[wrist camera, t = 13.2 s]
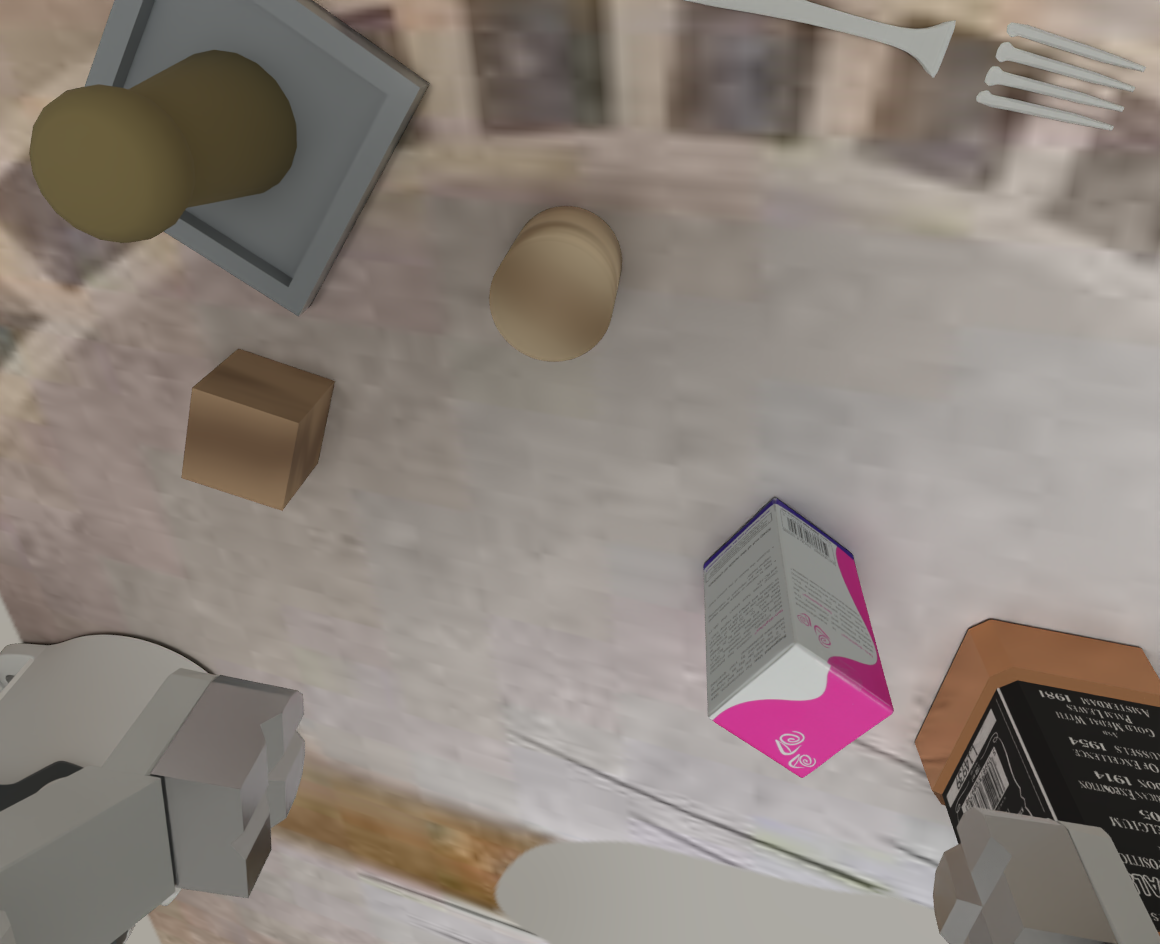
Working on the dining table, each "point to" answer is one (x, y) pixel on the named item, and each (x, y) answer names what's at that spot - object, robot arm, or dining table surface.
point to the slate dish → (323, 120)
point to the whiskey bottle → (1052, 738)
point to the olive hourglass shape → (162, 145)
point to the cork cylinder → (557, 285)
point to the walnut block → (256, 428)
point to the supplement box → (790, 642)
